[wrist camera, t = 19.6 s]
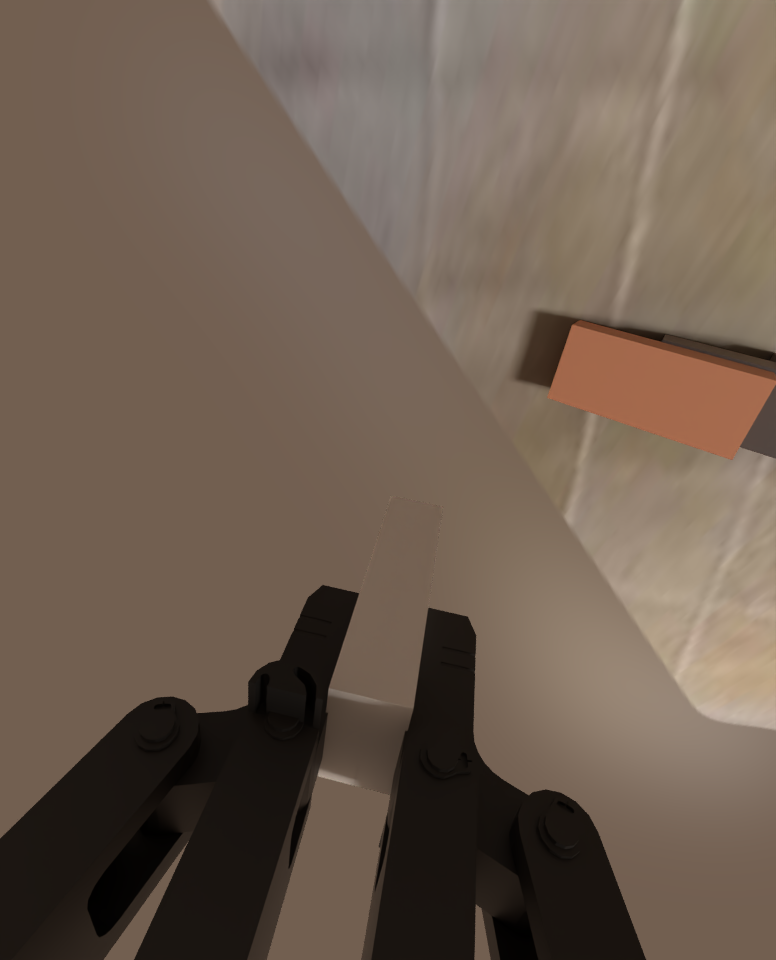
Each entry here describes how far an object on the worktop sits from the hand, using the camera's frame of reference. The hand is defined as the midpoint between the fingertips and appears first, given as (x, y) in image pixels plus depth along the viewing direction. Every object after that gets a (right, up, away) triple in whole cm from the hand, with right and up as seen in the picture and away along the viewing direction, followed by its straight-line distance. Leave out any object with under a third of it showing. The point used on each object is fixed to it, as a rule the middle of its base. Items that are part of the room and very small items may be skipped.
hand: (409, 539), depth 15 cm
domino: (+12, +10, +21) cm, 26 cm away
